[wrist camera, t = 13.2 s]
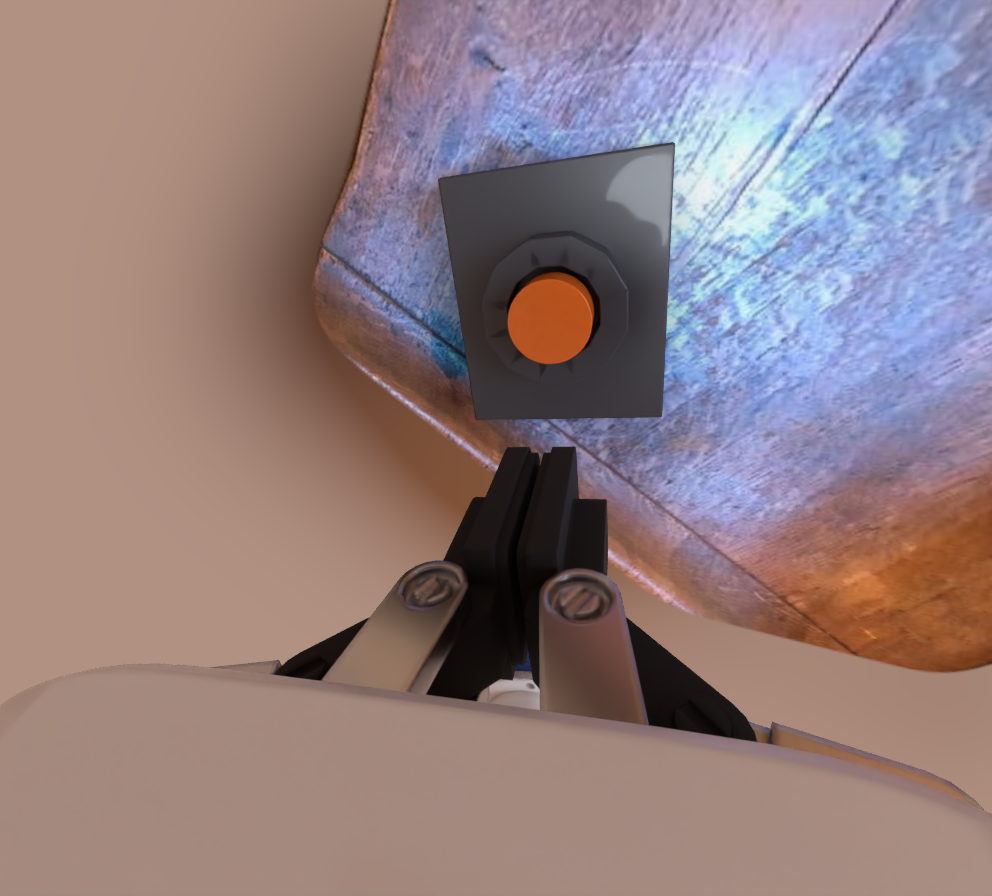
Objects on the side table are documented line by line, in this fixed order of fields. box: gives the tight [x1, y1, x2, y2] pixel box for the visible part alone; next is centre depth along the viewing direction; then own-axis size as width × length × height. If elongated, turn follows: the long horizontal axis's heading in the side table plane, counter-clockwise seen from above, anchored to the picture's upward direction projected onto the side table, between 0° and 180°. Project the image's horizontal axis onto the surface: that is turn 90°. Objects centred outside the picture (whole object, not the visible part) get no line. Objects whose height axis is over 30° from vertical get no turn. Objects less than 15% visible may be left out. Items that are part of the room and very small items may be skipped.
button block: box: [438, 142, 675, 420], centre depth 23 cm, size 12×10×4 cm
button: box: [508, 272, 594, 364], centre depth 21 cm, size 4×4×2 cm
